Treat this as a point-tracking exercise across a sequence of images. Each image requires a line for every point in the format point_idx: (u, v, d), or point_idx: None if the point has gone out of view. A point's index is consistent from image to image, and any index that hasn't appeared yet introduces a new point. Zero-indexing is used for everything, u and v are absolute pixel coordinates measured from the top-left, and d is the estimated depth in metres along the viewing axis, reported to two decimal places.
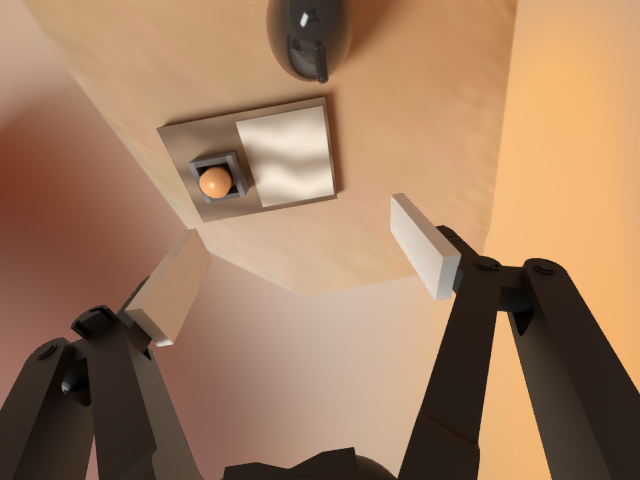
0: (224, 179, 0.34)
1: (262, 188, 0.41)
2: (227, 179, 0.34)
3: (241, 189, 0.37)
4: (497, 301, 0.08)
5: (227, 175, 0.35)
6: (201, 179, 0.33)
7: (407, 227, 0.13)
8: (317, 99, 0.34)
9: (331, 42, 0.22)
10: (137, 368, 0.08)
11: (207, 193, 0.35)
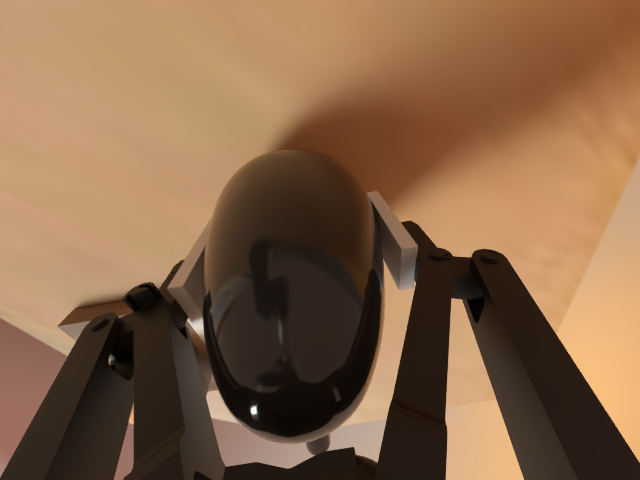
0: None
1: None
2: None
3: None
4: (450, 287, 0.09)
5: None
6: None
7: (378, 223, 0.14)
8: None
9: None
10: (174, 346, 0.09)
11: None
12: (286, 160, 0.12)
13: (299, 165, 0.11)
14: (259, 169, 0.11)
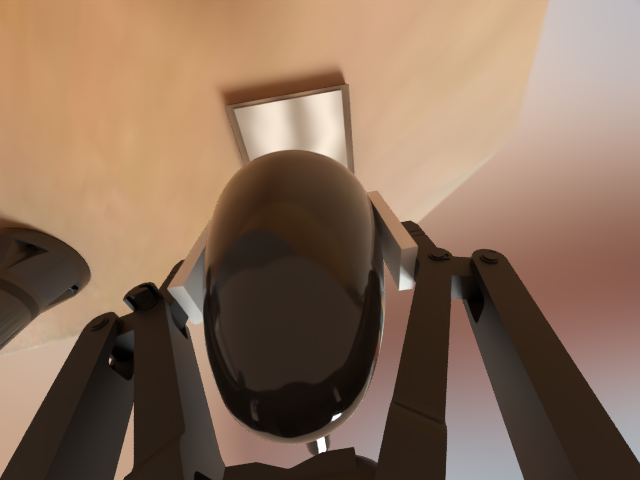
0: None
1: None
2: None
3: None
4: (450, 287, 0.09)
5: None
6: None
7: (378, 223, 0.14)
8: (229, 115, 0.31)
9: None
10: (174, 346, 0.09)
11: None
12: (286, 161, 0.12)
13: (299, 166, 0.11)
14: (259, 170, 0.11)
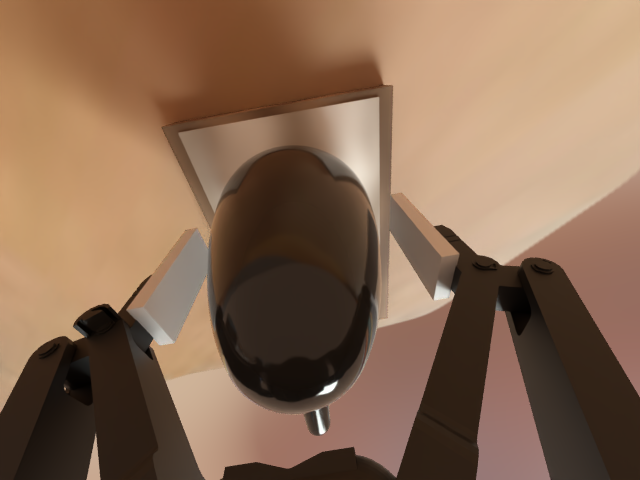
0: None
1: None
2: None
3: None
4: (495, 300, 0.08)
5: None
6: None
7: (406, 227, 0.13)
8: (171, 143, 0.17)
9: None
10: (138, 367, 0.08)
11: None
12: (287, 154, 0.12)
13: (299, 159, 0.12)
14: (261, 163, 0.12)
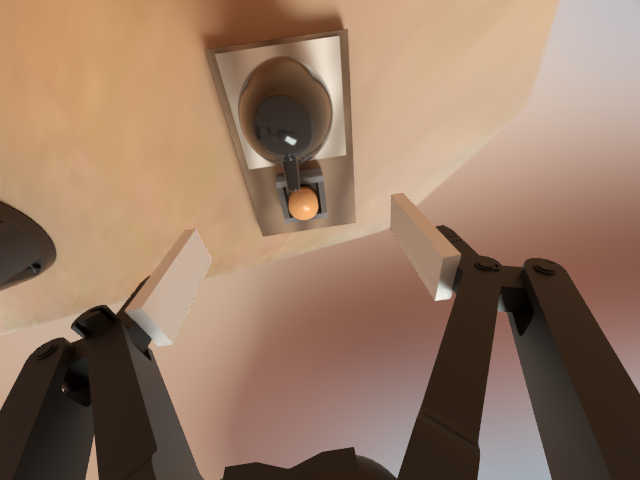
0: (297, 195, 0.31)
1: (322, 152, 0.33)
2: (298, 192, 0.31)
3: (314, 178, 0.32)
4: (497, 301, 0.08)
5: None
6: (296, 217, 0.32)
7: (407, 227, 0.13)
8: (209, 62, 0.27)
9: (302, 155, 0.20)
10: (137, 368, 0.08)
11: (312, 215, 0.32)
12: None
13: (288, 56, 0.22)
14: (267, 59, 0.22)
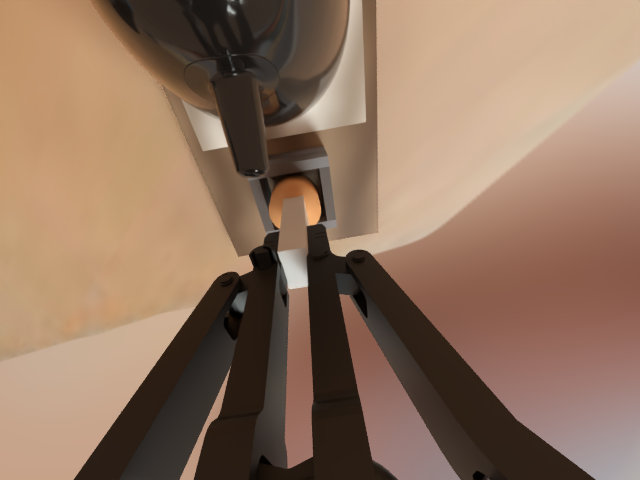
0: (282, 191, 0.17)
1: (325, 117, 0.19)
2: (285, 186, 0.17)
3: (312, 161, 0.18)
4: (335, 278, 0.10)
5: (282, 182, 0.18)
6: None
7: None
8: None
9: (269, 58, 0.06)
10: (274, 314, 0.09)
11: None
12: None
13: None
14: None
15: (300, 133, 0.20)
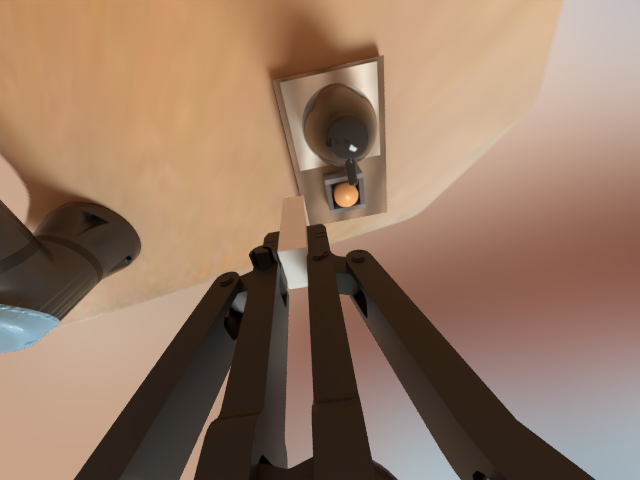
0: (342, 187, 0.39)
1: None
2: (342, 184, 0.39)
3: None
4: (335, 278, 0.10)
5: (340, 183, 0.40)
6: (341, 204, 0.41)
7: None
8: (275, 89, 0.34)
9: (360, 158, 0.27)
10: (274, 315, 0.09)
11: (353, 202, 0.41)
12: (337, 83, 0.29)
13: (343, 84, 0.29)
14: (327, 86, 0.29)
15: None
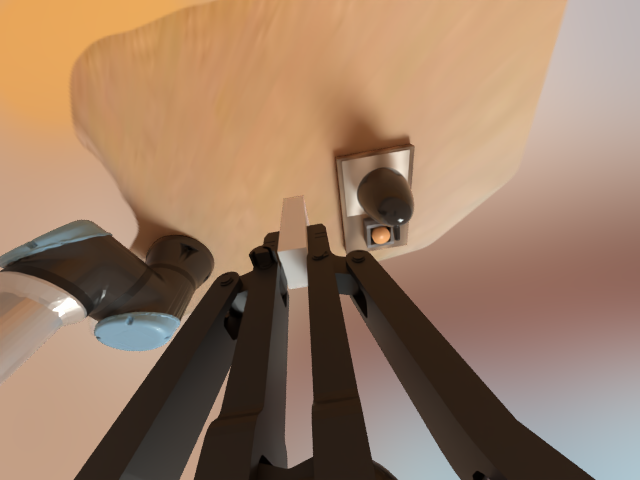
0: (379, 230, 0.53)
1: None
2: (379, 228, 0.54)
3: None
4: (335, 278, 0.10)
5: (377, 227, 0.55)
6: (376, 242, 0.55)
7: None
8: (337, 165, 0.49)
9: None
10: (274, 315, 0.09)
11: (385, 241, 0.55)
12: (386, 170, 0.44)
13: (391, 172, 0.44)
14: (380, 173, 0.44)
15: None
